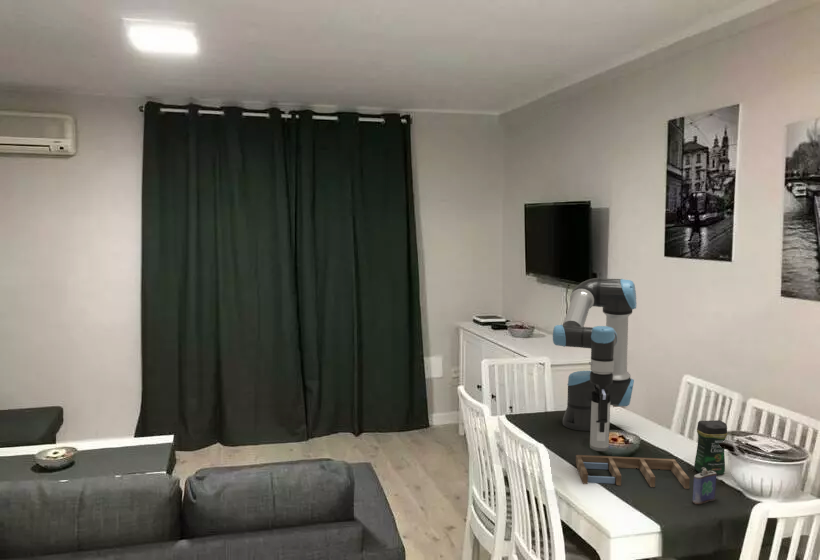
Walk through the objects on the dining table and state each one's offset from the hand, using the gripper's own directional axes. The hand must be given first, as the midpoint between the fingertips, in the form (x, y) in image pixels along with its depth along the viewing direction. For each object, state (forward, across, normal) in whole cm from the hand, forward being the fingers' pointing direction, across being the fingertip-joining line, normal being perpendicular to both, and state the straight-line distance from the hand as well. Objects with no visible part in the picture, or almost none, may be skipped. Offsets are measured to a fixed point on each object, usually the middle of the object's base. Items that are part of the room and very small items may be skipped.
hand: (599, 437), depth 231 cm
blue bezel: (+14, 0, 0) cm, 14 cm away
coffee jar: (+14, -8, +40) cm, 43 cm away
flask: (+14, +17, +30) cm, 37 cm away
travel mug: (+4, 0, 0) cm, 4 cm away
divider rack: (+14, 0, +11) cm, 18 cm away
